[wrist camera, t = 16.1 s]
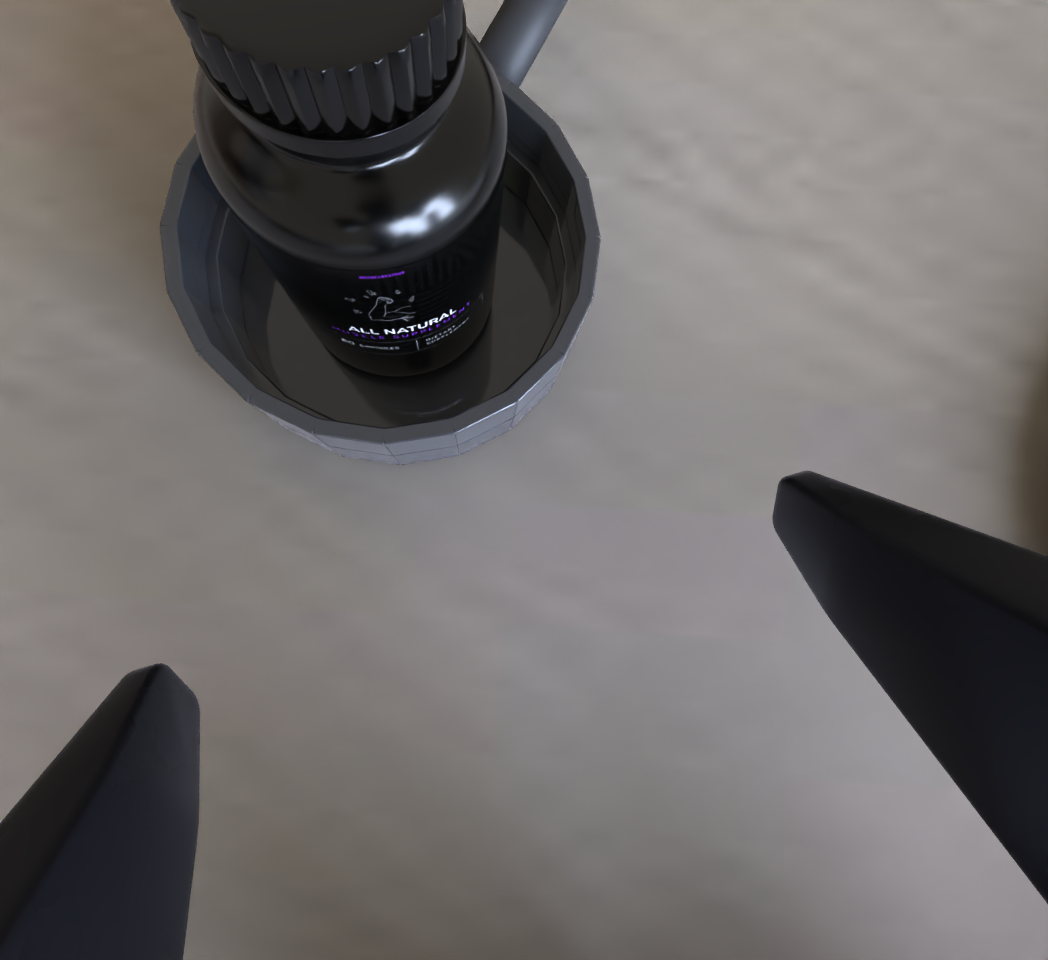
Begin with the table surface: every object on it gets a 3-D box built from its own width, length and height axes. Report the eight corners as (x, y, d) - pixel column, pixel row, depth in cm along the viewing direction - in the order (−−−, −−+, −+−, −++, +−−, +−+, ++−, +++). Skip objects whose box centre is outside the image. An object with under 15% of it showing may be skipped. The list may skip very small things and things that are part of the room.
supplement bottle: (405, 421, 20) (300, 224, 8) (264, 294, 20) (-35, -77, 8) (533, 290, 21) (605, -53, 9) (398, 170, 21) (301, -314, 10)
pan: (482, 526, 20) (484, 518, 16) (154, 365, 20) (71, 316, 16) (629, 230, 22) (663, 156, 18) (332, 82, 22) (299, -26, 18)
